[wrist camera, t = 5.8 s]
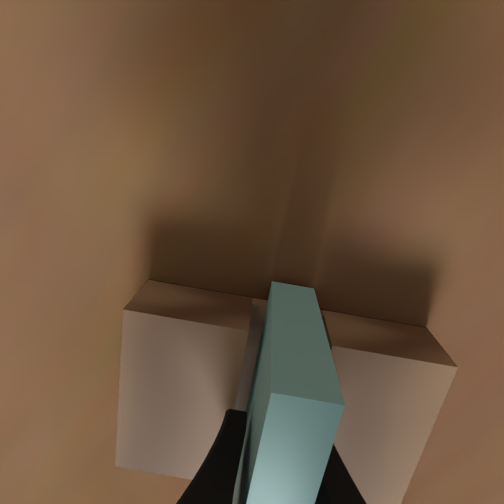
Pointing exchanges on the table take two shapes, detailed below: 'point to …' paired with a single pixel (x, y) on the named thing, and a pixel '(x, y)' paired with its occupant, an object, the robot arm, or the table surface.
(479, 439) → the table surface
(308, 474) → the teal rectangular block
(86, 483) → the table surface
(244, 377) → the slot block
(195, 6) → the table surface
